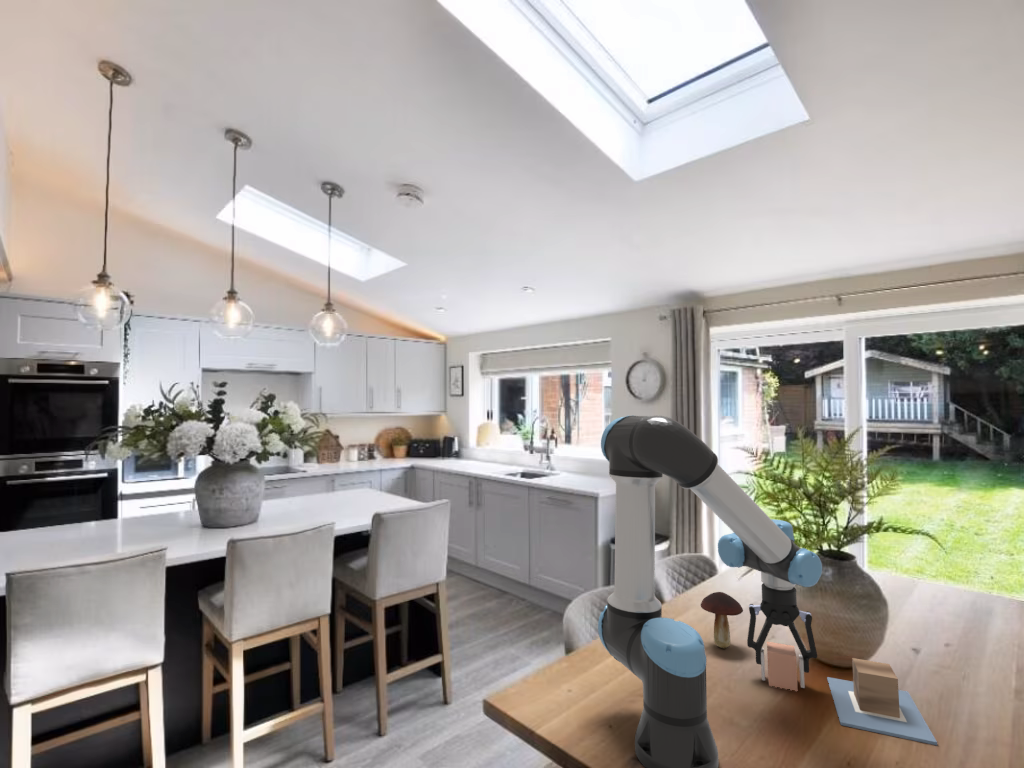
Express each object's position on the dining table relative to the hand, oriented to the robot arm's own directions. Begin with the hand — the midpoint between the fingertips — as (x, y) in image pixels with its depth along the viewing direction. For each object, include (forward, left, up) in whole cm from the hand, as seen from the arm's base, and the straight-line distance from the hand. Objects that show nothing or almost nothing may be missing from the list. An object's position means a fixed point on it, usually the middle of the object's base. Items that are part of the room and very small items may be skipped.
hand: (782, 681), depth 122 cm
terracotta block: (0, 0, 0) cm, 0 cm away
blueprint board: (-4, -18, 0) cm, 18 cm away
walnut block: (-4, -18, 0) cm, 18 cm away
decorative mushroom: (+14, +14, 0) cm, 20 cm away
